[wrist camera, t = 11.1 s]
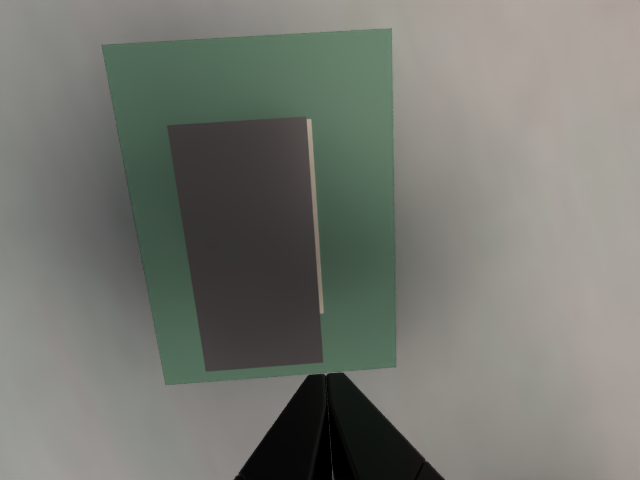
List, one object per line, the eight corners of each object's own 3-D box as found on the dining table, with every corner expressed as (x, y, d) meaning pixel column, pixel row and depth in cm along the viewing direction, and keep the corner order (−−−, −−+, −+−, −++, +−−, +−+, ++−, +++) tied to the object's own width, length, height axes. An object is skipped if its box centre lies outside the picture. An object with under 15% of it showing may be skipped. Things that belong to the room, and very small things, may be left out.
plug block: (318, 305, 18) (323, 362, 13) (233, 311, 18) (205, 371, 13) (306, 127, 16) (306, 116, 11) (209, 133, 16) (166, 125, 11)
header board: (389, 351, 20) (412, 406, 16) (175, 368, 20) (139, 428, 16) (384, 39, 16) (412, -2, 12) (119, 54, 16) (51, 18, 12)
